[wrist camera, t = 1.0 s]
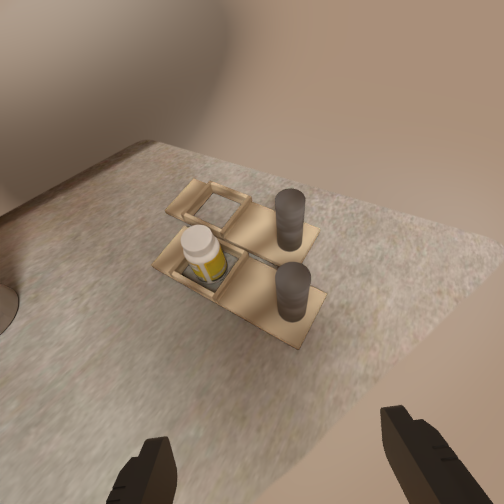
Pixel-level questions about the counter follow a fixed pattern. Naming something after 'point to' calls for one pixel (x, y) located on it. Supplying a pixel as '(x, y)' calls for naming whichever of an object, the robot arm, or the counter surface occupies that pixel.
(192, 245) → the supplement bottle
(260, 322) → the wooden rack with post
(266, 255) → the empty strip
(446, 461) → the robot arm
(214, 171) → the counter surface
